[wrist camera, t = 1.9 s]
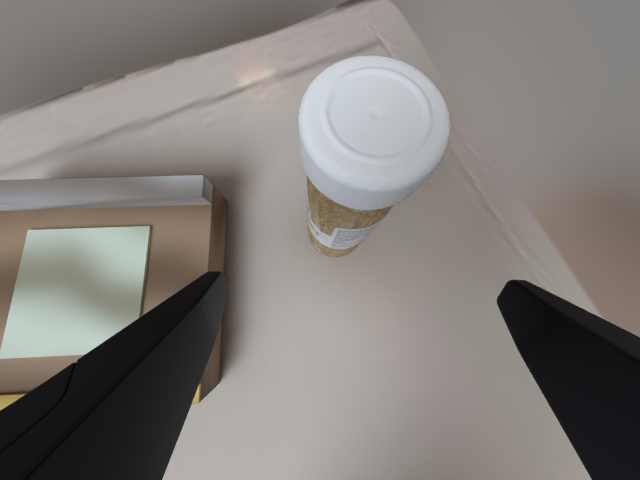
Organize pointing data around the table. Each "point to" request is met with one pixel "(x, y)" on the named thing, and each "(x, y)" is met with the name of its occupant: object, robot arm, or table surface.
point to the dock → (97, 265)
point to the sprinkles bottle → (366, 145)
